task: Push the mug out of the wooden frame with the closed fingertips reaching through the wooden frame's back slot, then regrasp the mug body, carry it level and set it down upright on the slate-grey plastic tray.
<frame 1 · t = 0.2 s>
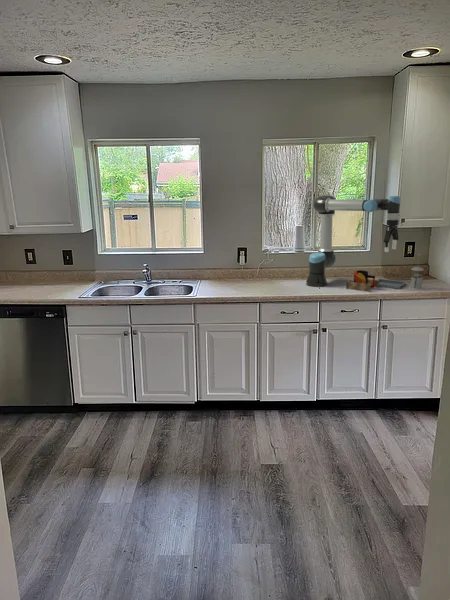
hand: (390, 250, 296), 28 cm above the worktop, fingers open, 13 cm apart
french press: (415, 288, 303), on the worktop
mug: (363, 288, 309), on the worktop
wooden frame: (363, 288, 309), on the worktop
tray: (388, 285, 314), on the worktop
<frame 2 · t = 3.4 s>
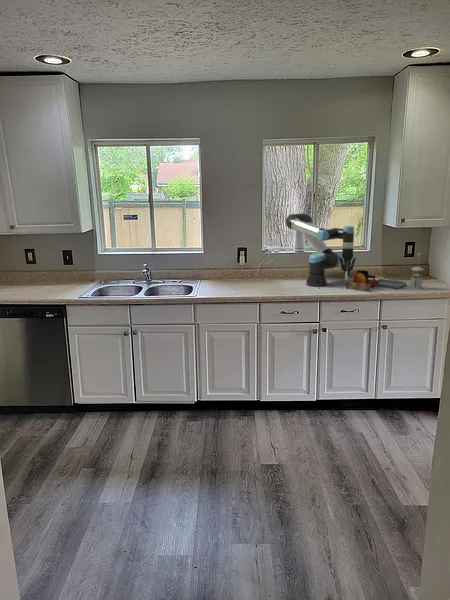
hand: (346, 279, 315), 5 cm above the worktop, fingers closed
nothing on the worktop moved.
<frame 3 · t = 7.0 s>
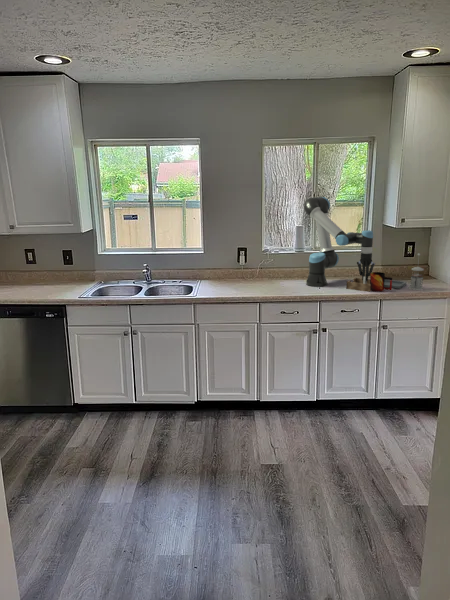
hand: (364, 285, 307), 2 cm above the worktop, fingers closed
mug: (379, 290, 301), on the worktop
everything else where it was.
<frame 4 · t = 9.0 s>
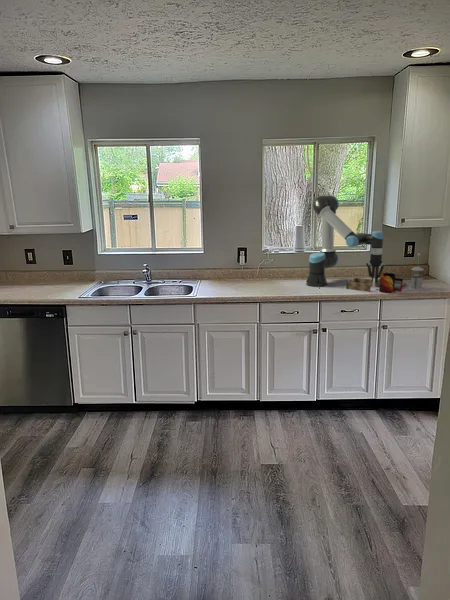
hand: (374, 286, 303), 2 cm above the worktop, fingers closed
mug: (389, 291, 297), on the worktop, touching hand
everything else where it was.
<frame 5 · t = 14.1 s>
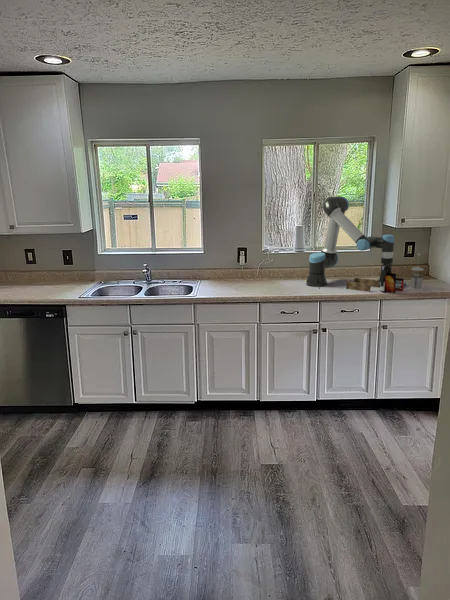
hand: (384, 289, 298), 1 cm above the worktop, fingers closed on mug, 10 cm apart
mug: (390, 291, 297), on the worktop, touching gripper
everything else where it was.
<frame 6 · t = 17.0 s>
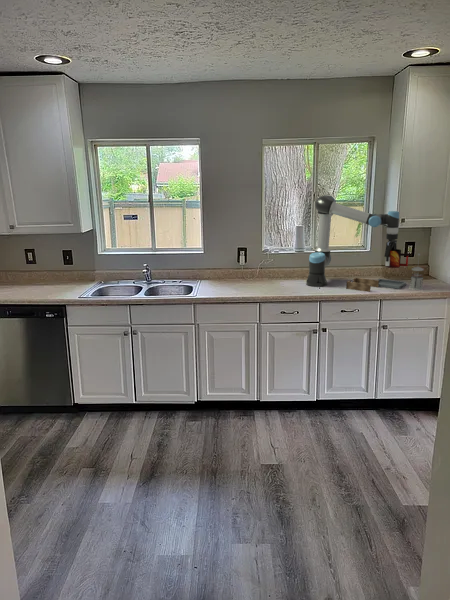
hand: (389, 264, 308), 16 cm above the worktop, fingers closed on mug, 9 cm apart
mug: (395, 266, 307), point 14 cm above the worktop, touching gripper
everything else where it was.
when the fingers open (3 cm above the worktop, at t = 20.1 s): mug stays where it is, resting on tray.
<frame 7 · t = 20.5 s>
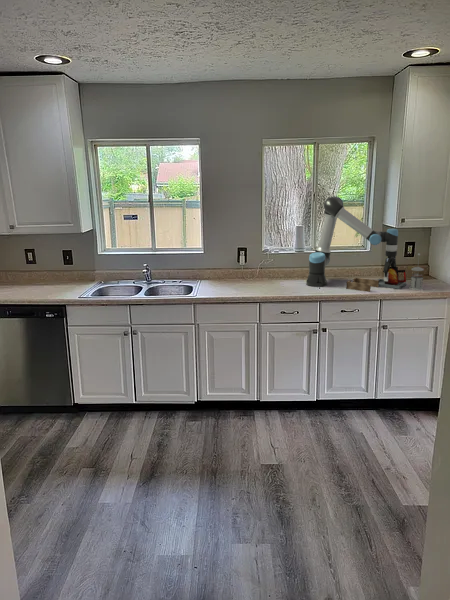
hand: (389, 279, 313), 4 cm above the worktop, fingers open, 13 cm apart
mug: (394, 283, 313), point 1 cm above the worktop, touching tray
everything else where it was.
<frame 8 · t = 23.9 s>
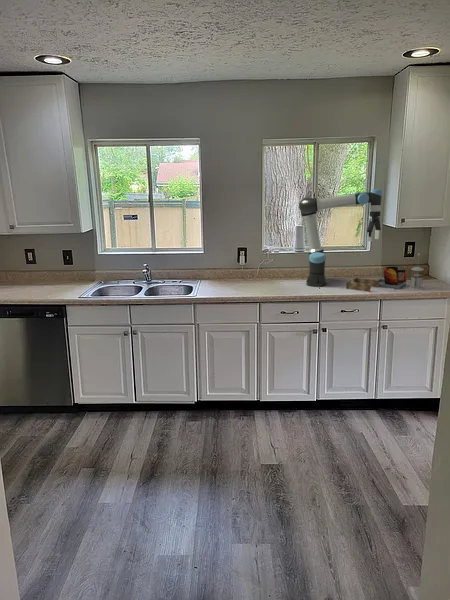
hand: (373, 240, 318), 32 cm above the worktop, fingers open, 13 cm apart
nothing on the worktop moved.
at the end: mug inside the target area on the tray (4.0 cm from its centre), point 1.2 cm above the tray's base; mug tilted 7°; the gripper is holding nothing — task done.
